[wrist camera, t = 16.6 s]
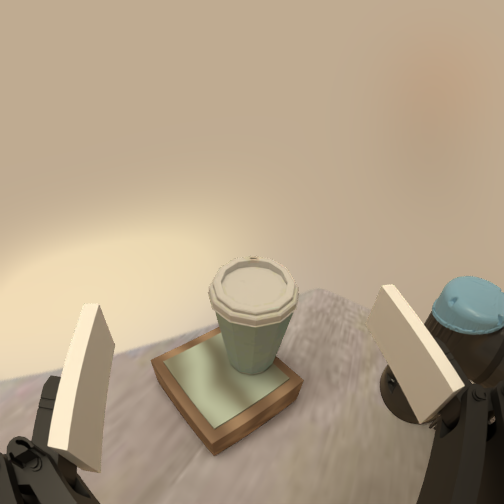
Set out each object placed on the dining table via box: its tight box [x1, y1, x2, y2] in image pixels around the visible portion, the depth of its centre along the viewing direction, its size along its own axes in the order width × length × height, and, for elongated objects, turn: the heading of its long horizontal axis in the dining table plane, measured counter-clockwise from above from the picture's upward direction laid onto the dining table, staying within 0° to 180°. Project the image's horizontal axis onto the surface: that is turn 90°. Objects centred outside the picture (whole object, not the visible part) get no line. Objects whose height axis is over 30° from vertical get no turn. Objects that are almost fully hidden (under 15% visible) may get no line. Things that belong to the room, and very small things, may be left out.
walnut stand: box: [151, 327, 304, 456], centre depth 40 cm, size 16×16×6 cm
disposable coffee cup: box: [208, 256, 299, 375], centre depth 36 cm, size 11×11×15 cm
